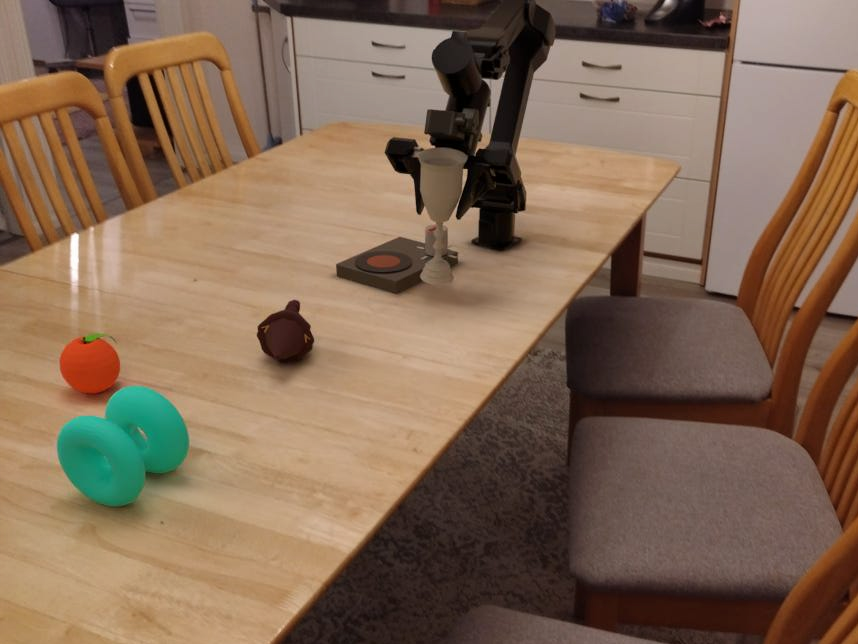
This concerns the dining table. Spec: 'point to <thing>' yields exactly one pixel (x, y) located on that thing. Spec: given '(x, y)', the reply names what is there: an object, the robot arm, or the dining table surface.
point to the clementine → (90, 364)
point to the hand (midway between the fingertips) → (437, 215)
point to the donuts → (123, 445)
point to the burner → (383, 262)
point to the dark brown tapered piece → (286, 334)
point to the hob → (393, 280)
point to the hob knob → (431, 240)
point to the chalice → (440, 202)
